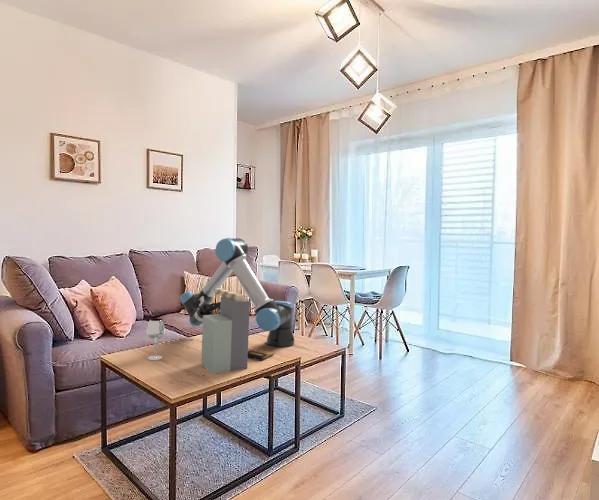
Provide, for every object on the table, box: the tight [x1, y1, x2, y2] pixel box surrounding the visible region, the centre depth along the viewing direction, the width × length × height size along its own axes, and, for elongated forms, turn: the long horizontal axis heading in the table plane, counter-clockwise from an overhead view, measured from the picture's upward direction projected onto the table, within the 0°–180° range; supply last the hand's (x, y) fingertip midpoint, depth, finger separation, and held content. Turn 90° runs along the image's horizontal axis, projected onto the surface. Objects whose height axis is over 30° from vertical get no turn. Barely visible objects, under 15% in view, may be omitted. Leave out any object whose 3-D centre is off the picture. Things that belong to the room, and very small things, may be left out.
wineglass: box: [146, 317, 166, 361], centre depth 185 cm, size 8×8×18 cm
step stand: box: [200, 296, 251, 375], centre depth 178 cm, size 14×16×30 cm
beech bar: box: [214, 287, 244, 301], centre depth 184 cm, size 22×3×2 cm, turn 38°
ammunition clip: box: [248, 349, 275, 361], centre depth 196 cm, size 11×2×12 cm
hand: (216, 298), depth 199 cm, fingers open, 13 cm apart
